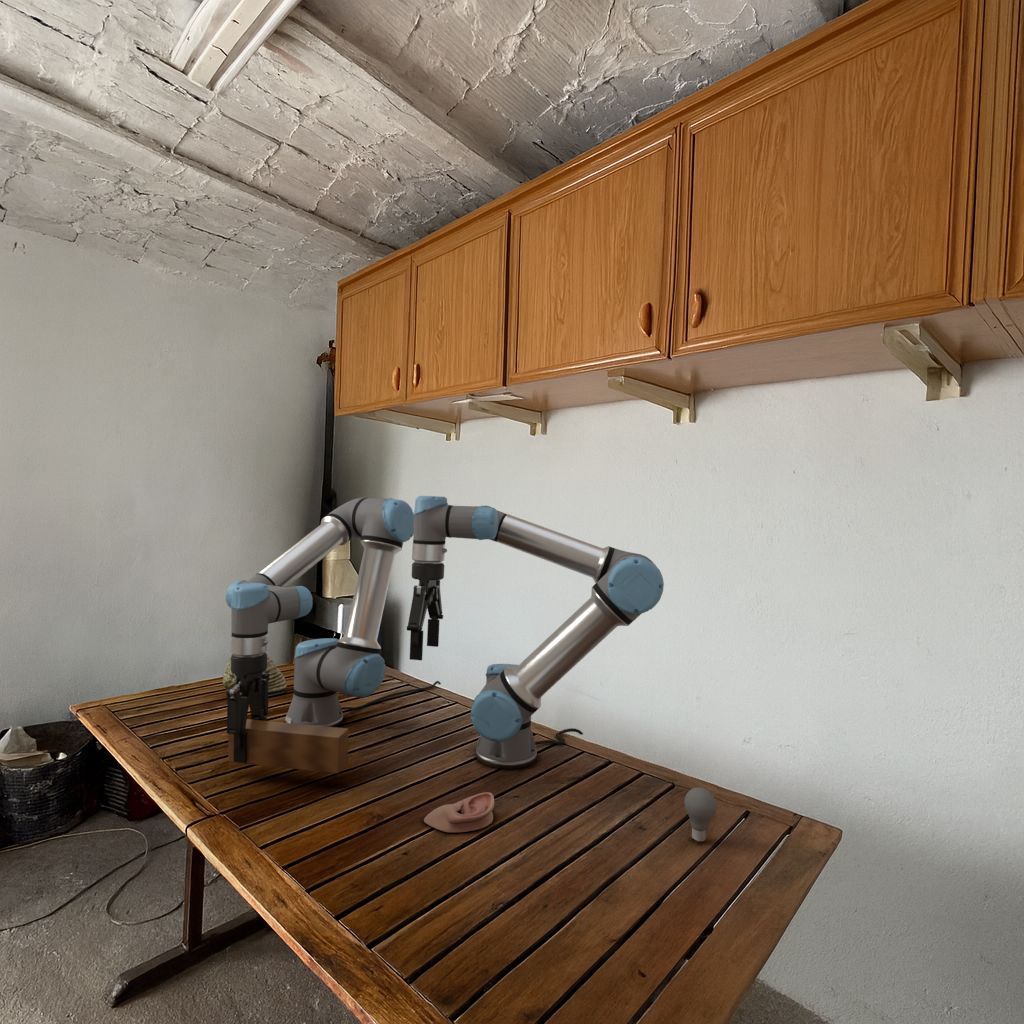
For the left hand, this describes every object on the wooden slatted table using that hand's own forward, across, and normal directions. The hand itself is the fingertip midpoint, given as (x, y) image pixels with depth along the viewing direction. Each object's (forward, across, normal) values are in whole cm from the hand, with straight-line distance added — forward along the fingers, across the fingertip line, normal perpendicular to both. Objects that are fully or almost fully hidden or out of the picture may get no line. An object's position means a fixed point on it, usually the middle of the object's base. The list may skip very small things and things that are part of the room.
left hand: (247, 755), depth 142 cm
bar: (+1, 0, -10) cm, 10 cm away
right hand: (-23, +12, -37) cm, 45 cm away
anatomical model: (+5, -8, -51) cm, 52 cm away
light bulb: (+5, -5, -98) cm, 98 cm away
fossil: (+5, +52, +29) cm, 60 cm away
